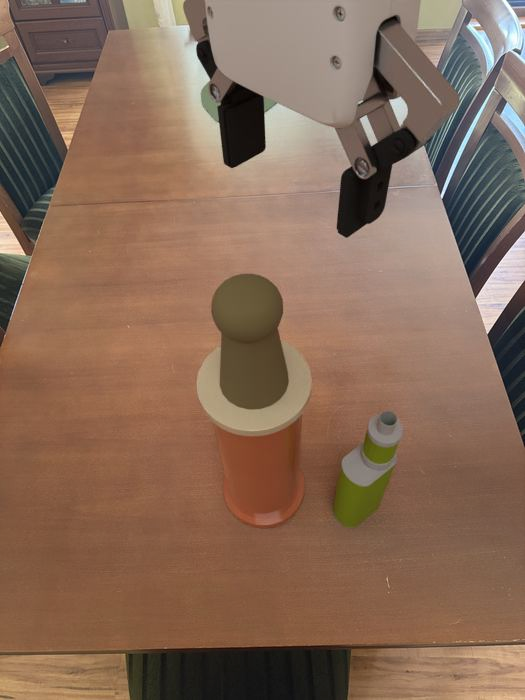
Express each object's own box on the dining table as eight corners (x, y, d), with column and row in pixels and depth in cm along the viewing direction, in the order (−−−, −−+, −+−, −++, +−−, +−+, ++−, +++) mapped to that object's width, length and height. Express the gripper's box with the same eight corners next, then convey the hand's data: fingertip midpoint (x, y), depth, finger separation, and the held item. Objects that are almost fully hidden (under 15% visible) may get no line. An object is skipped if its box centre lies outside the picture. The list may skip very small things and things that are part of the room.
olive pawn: (271, 420, 42) (266, 335, 33) (206, 394, 43) (186, 307, 35) (299, 364, 45) (302, 274, 36) (238, 343, 47) (227, 252, 38)
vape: (385, 502, 61) (419, 420, 46) (348, 533, 59) (371, 458, 43) (363, 479, 63) (389, 392, 47) (327, 508, 61) (341, 428, 45)
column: (314, 518, 61) (326, 416, 42) (231, 537, 60) (205, 442, 41) (293, 443, 67) (295, 325, 48) (218, 460, 66) (189, 346, 47)
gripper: (601, -239, 15) (454, 223, 29) (225, -247, 23) (249, 117, 37) (454, -205, 12) (367, 292, 26) (82, -228, 20) (165, 159, 34)
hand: (298, 189), depth 31 cm, fingers open, 9 cm apart
